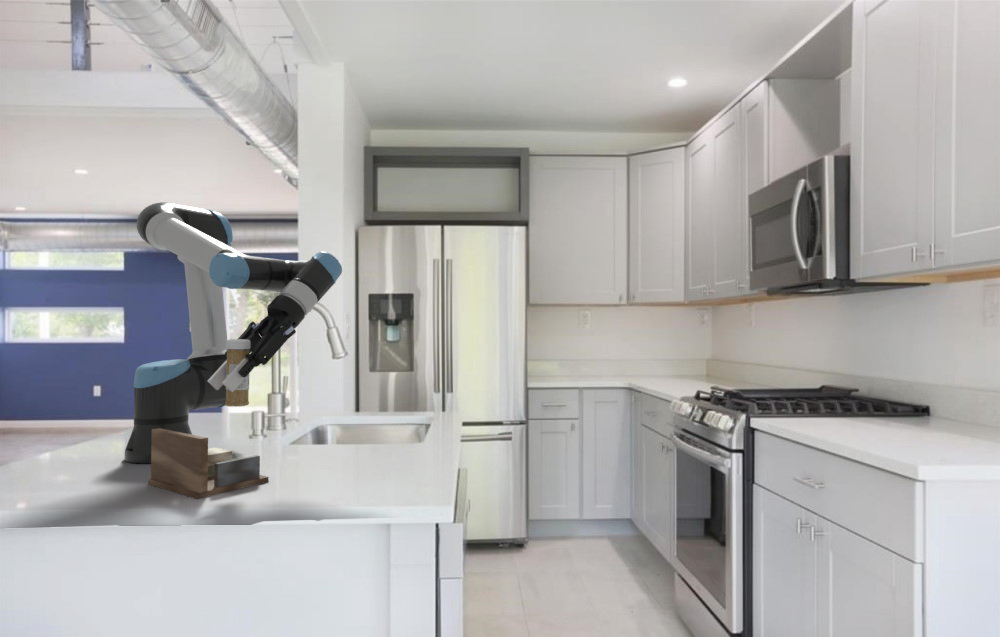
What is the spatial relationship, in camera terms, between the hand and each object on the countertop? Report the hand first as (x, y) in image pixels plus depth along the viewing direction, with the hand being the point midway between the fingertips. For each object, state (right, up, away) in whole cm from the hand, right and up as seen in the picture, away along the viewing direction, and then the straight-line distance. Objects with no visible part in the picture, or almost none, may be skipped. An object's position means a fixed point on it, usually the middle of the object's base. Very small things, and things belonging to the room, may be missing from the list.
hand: (220, 386), depth 117 cm
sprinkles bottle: (+2, -4, +3) cm, 6 cm away
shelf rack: (-4, -20, +3) cm, 21 cm away
